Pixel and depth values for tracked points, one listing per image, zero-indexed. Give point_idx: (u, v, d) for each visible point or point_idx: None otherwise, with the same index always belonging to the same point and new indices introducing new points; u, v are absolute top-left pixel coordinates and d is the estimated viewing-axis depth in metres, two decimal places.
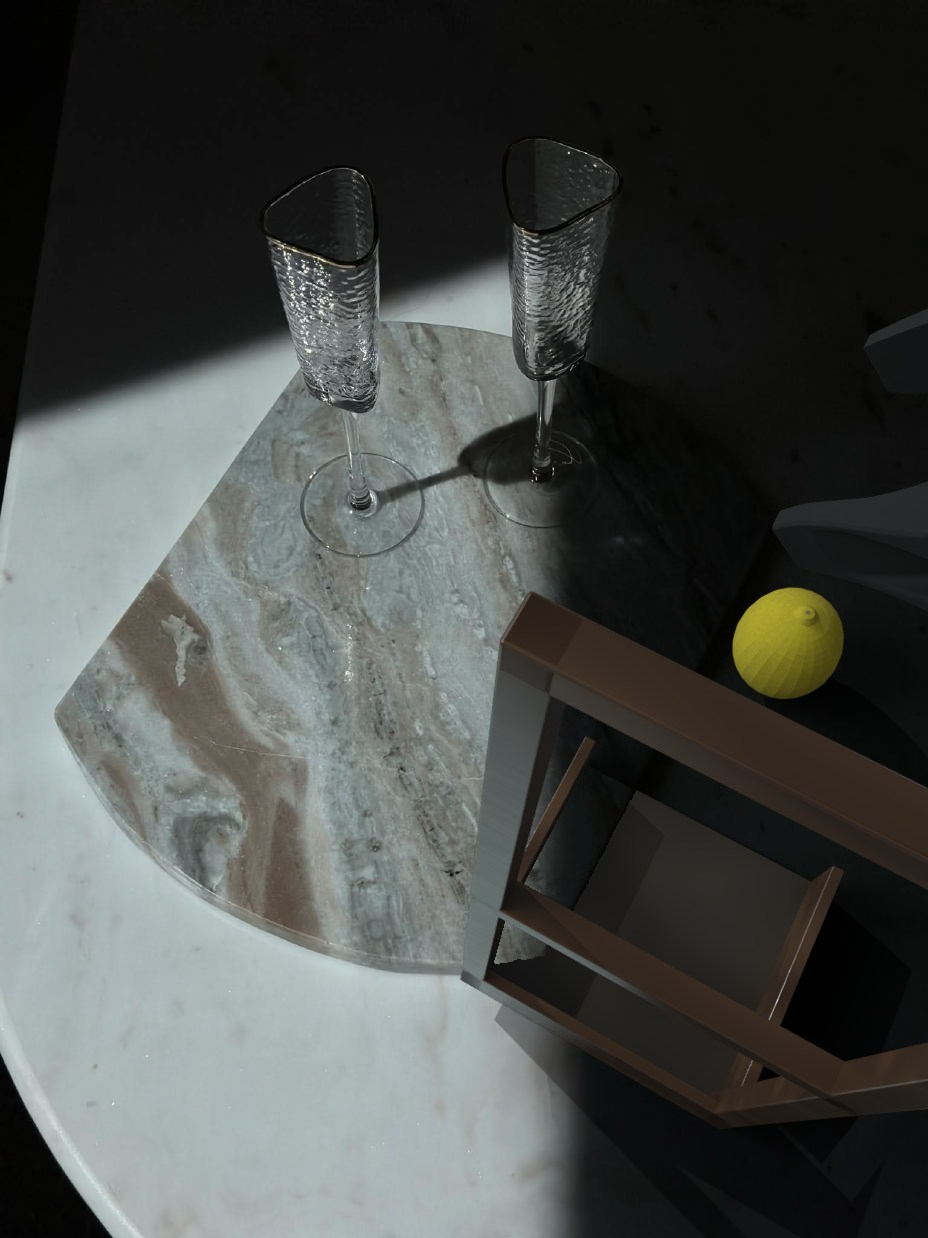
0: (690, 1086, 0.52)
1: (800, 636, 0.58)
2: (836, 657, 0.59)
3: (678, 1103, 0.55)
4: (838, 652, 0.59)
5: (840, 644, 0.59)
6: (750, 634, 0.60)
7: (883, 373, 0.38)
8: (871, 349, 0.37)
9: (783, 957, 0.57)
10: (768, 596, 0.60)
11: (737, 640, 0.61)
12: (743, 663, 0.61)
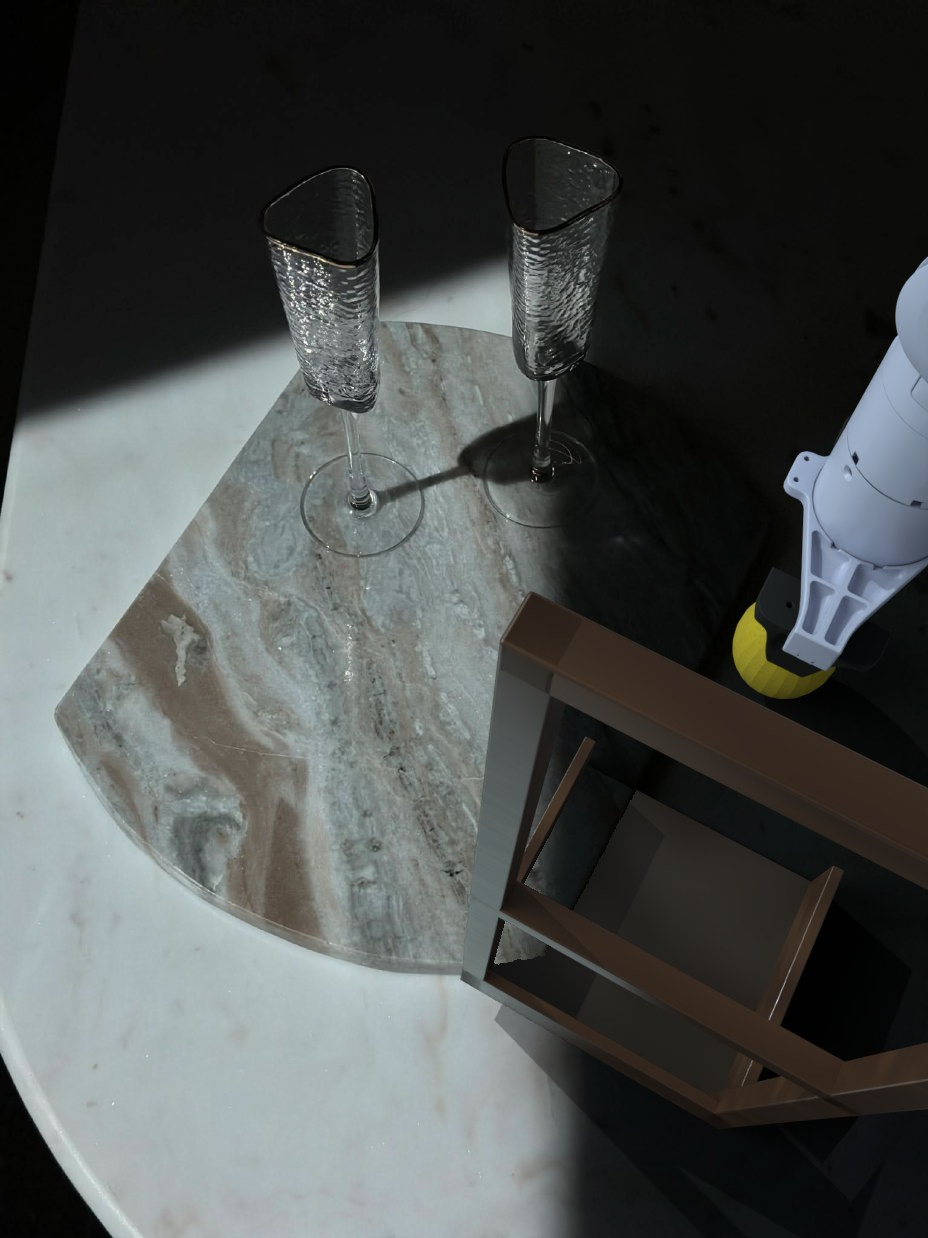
0: (690, 1086, 0.52)
1: None
2: None
3: (678, 1103, 0.55)
4: None
5: None
6: (750, 634, 0.60)
7: None
8: None
9: (783, 957, 0.57)
10: None
11: (737, 640, 0.61)
12: (743, 663, 0.61)
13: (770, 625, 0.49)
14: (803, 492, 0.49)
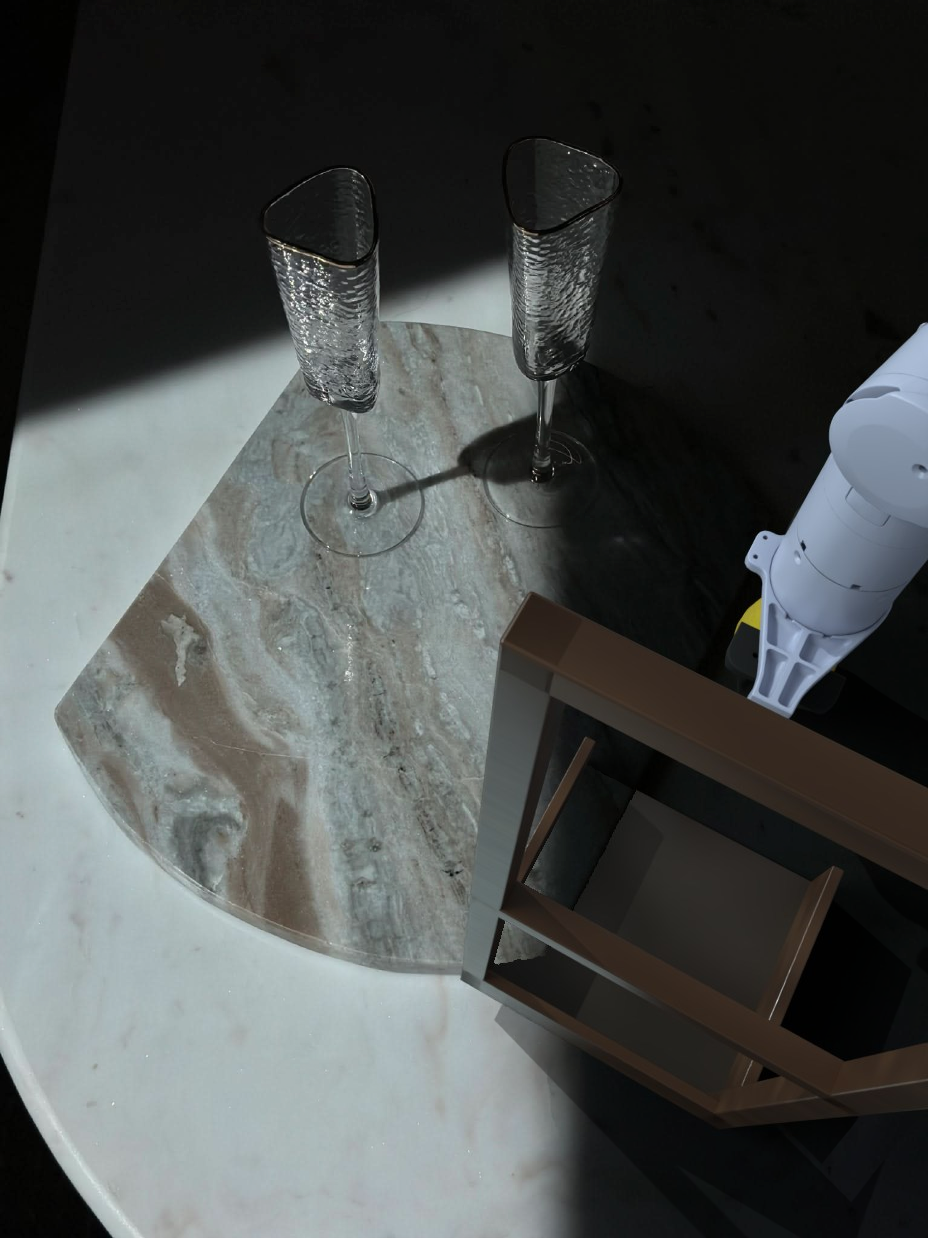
0: (690, 1086, 0.52)
1: None
2: None
3: (678, 1103, 0.55)
4: None
5: None
6: None
7: None
8: None
9: (783, 957, 0.57)
10: None
11: None
12: None
13: (738, 673, 0.55)
14: (761, 568, 0.55)
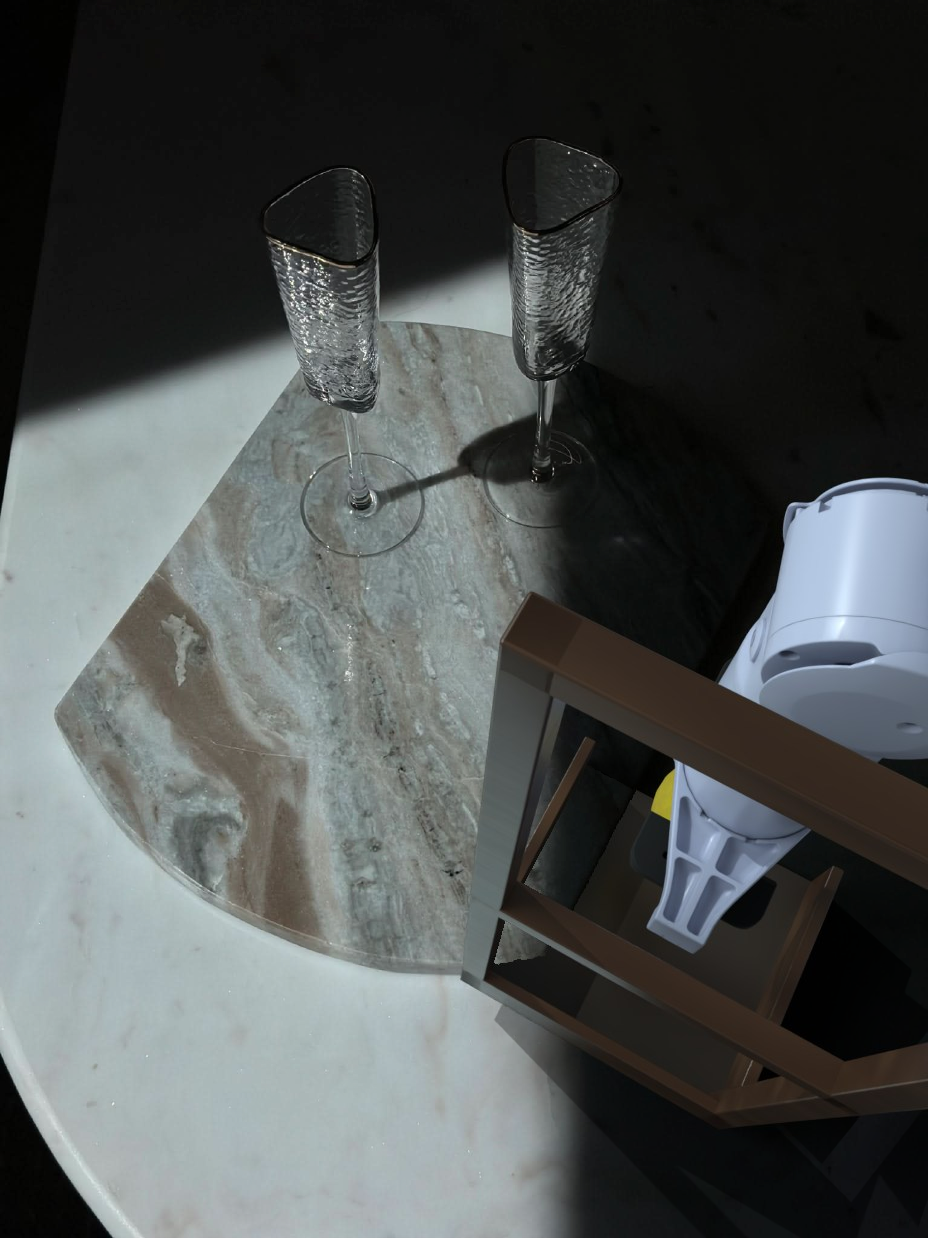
0: (690, 1086, 0.52)
1: None
2: None
3: (678, 1103, 0.55)
4: None
5: None
6: (667, 811, 0.50)
7: None
8: None
9: (783, 957, 0.57)
10: None
11: None
12: None
13: (645, 878, 0.45)
14: None
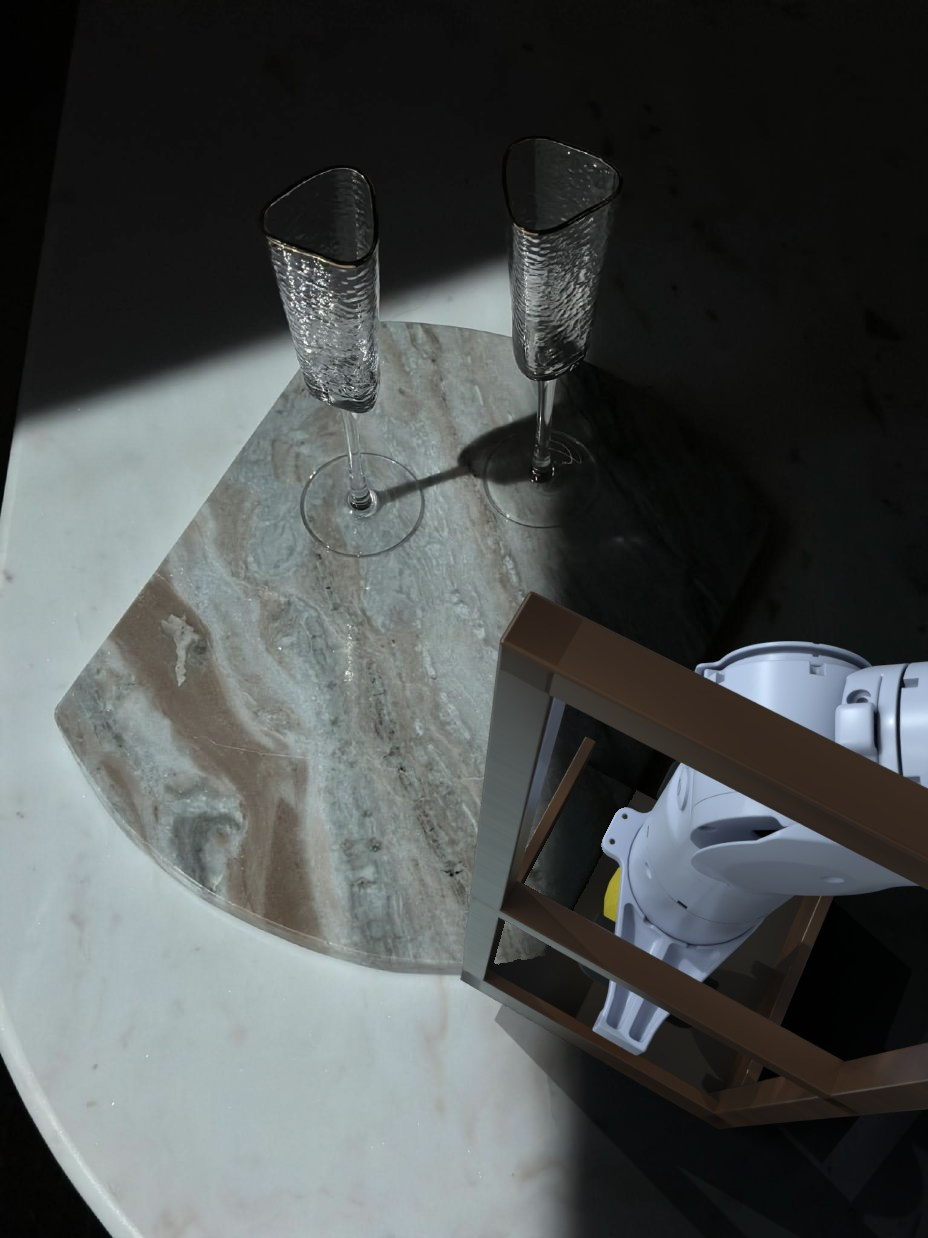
0: (690, 1086, 0.52)
1: None
2: None
3: (678, 1103, 0.55)
4: None
5: None
6: None
7: None
8: None
9: (783, 957, 0.57)
10: None
11: (606, 906, 0.53)
12: None
13: (592, 979, 0.47)
14: (618, 857, 0.47)
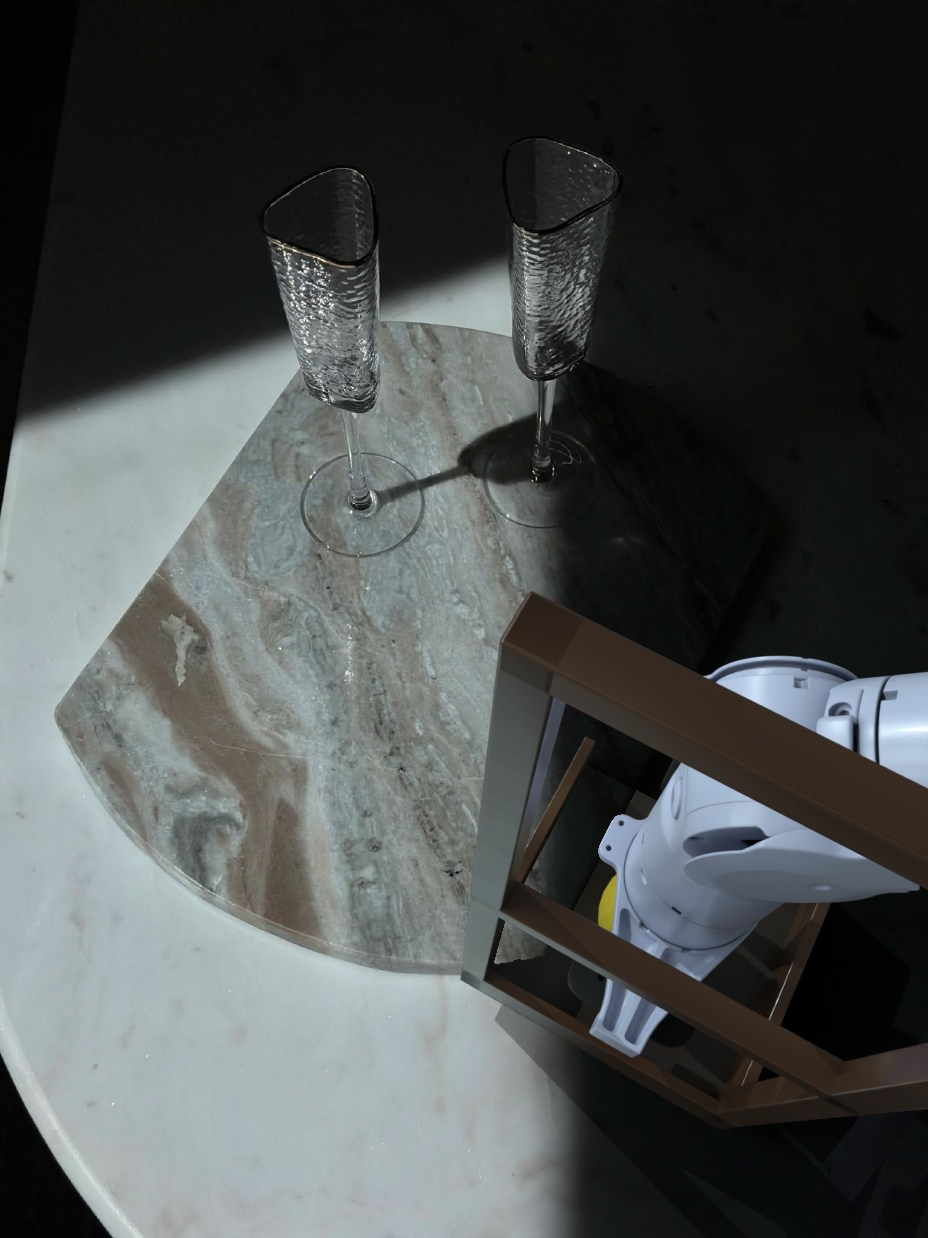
0: (690, 1086, 0.52)
1: None
2: None
3: (678, 1103, 0.55)
4: None
5: None
6: (611, 915, 0.53)
7: None
8: None
9: (783, 957, 0.57)
10: None
11: (600, 915, 0.55)
12: None
13: (581, 999, 0.48)
14: (614, 863, 0.48)
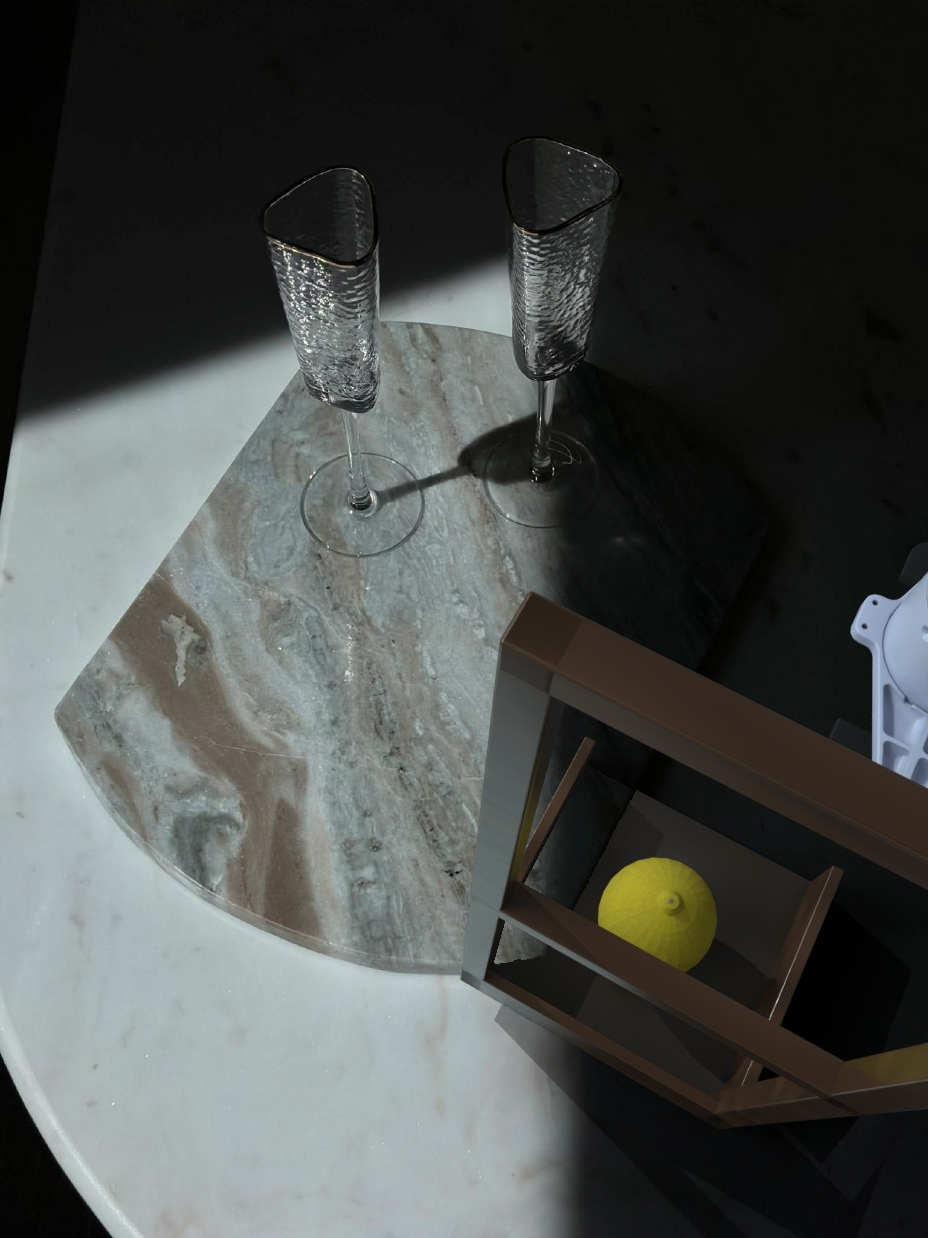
0: (690, 1086, 0.52)
1: (663, 927, 0.52)
2: (706, 944, 0.53)
3: (678, 1103, 0.55)
4: (708, 939, 0.53)
5: (710, 930, 0.53)
6: (611, 915, 0.53)
7: None
8: None
9: (783, 957, 0.57)
10: (632, 871, 0.54)
11: (600, 915, 0.55)
12: None
13: None
14: (872, 640, 0.46)
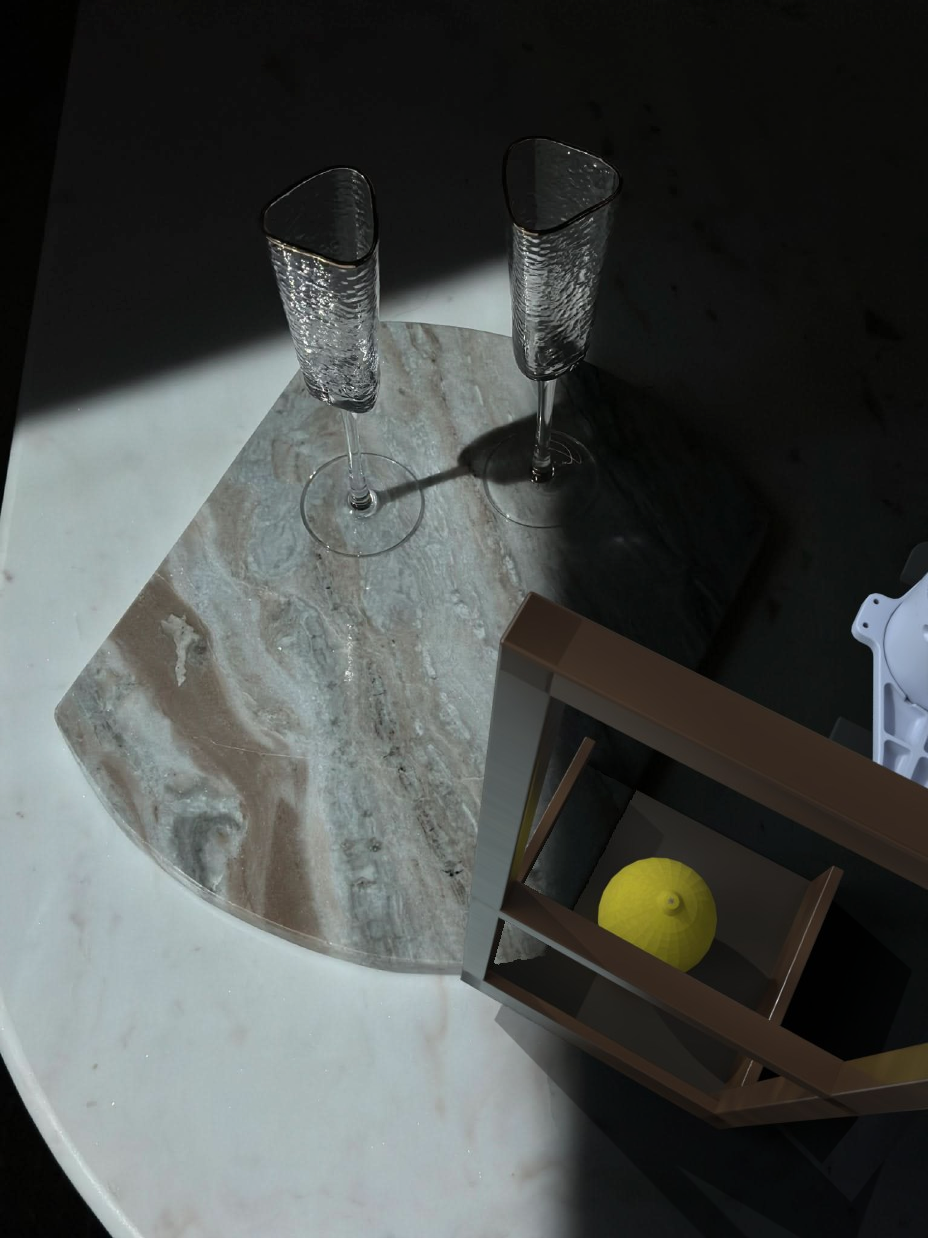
0: (690, 1086, 0.52)
1: (663, 927, 0.52)
2: (706, 944, 0.53)
3: (678, 1103, 0.55)
4: (708, 939, 0.53)
5: (710, 930, 0.53)
6: (611, 915, 0.53)
7: None
8: None
9: (783, 957, 0.57)
10: (632, 871, 0.54)
11: (600, 915, 0.55)
12: None
13: None
14: (873, 639, 0.46)
